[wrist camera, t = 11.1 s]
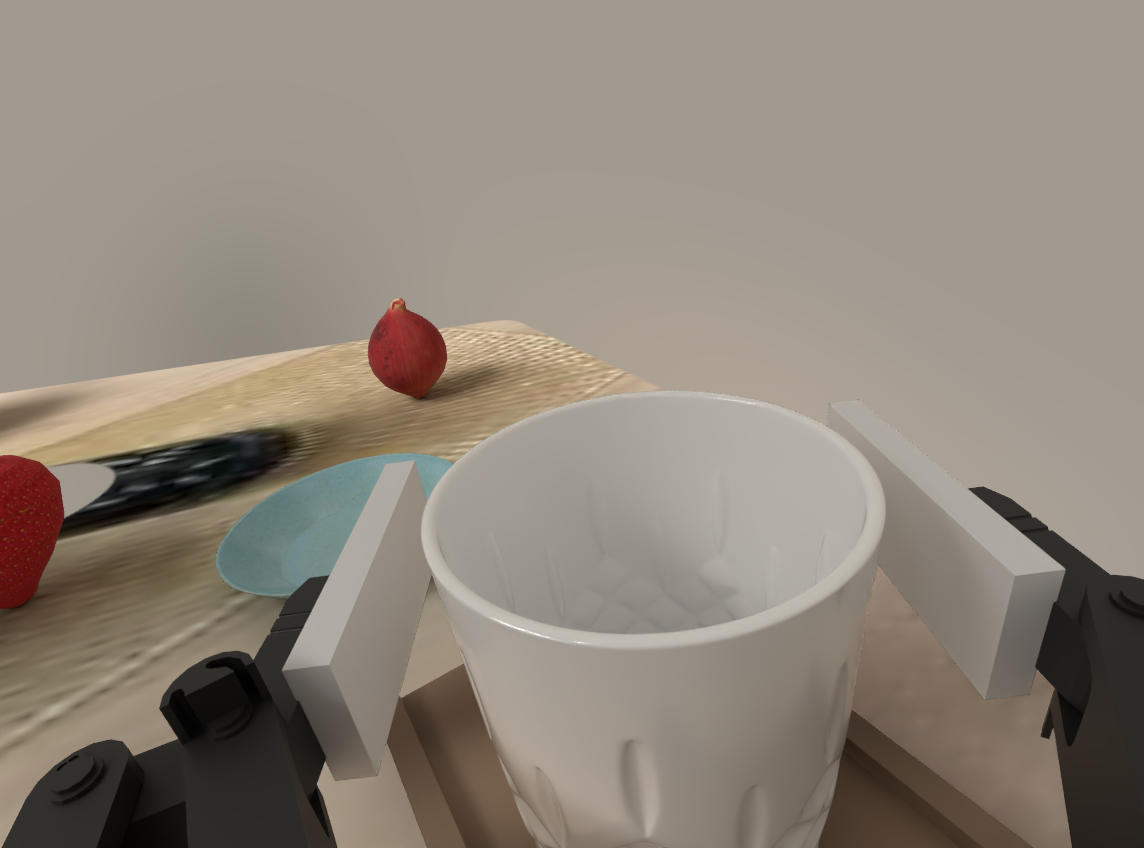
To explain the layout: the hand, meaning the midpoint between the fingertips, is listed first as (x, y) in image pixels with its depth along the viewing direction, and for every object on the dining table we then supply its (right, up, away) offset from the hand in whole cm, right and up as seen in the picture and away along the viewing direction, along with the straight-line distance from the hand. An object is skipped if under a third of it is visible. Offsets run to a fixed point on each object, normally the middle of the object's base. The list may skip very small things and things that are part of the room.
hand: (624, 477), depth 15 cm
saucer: (-12, -5, +15) cm, 20 cm away
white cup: (+1, -9, 0) cm, 9 cm away
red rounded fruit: (-14, +3, +32) cm, 35 cm away
